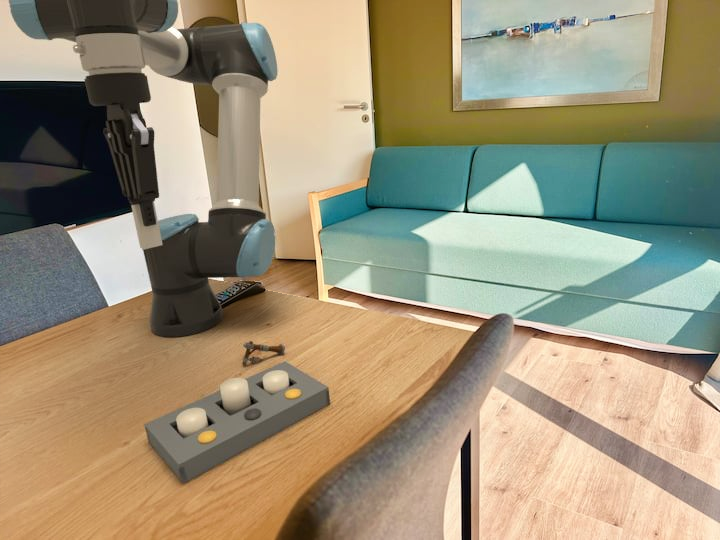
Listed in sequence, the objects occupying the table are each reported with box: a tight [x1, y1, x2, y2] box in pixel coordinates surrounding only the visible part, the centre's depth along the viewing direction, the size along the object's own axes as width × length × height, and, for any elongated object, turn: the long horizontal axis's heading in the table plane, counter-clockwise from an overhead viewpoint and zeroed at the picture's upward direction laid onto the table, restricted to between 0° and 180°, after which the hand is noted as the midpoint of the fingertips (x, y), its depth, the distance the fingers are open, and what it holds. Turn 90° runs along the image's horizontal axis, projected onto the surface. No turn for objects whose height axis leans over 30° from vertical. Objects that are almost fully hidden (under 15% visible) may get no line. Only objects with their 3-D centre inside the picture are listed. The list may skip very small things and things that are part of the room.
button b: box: [219, 377, 252, 416], centre depth 77 cm, size 4×4×4 cm
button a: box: [176, 408, 209, 439], centre depth 73 cm, size 4×4×4 cm
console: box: [144, 361, 331, 485], centre depth 77 cm, size 12×24×3 cm, turn 131°
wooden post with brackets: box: [241, 340, 286, 366], centre depth 95 cm, size 2×8×4 cm, turn 123°
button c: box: [263, 370, 291, 396], centre depth 82 cm, size 4×4×4 cm
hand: (151, 246), depth 75 cm, fingers closed
